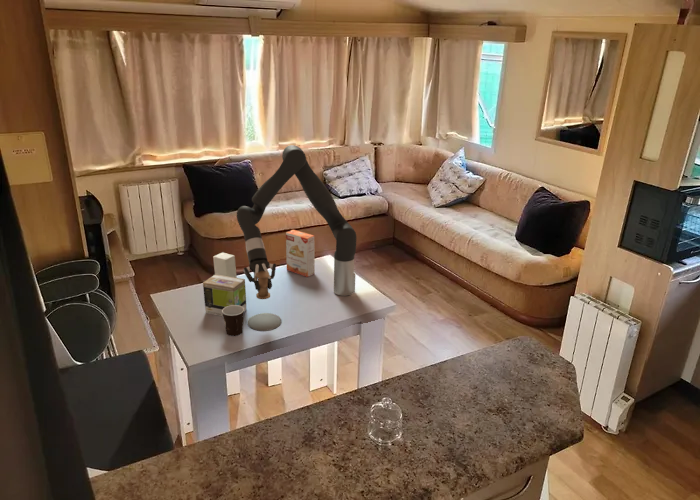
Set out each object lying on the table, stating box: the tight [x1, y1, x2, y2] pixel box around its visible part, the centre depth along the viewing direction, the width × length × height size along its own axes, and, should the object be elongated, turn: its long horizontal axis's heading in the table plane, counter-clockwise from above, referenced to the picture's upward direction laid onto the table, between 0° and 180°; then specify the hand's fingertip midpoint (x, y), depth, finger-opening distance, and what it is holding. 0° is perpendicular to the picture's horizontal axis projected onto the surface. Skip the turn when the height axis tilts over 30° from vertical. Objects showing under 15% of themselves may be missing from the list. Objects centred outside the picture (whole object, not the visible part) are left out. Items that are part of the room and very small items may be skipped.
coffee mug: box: [222, 305, 245, 337], centre depth 215 cm, size 12×9×10 cm
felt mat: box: [247, 312, 282, 332], centre depth 226 cm, size 14×14×1 cm
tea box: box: [202, 273, 247, 317], centre depth 231 cm, size 15×10×15 cm
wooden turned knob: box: [256, 271, 271, 300], centre depth 220 cm, size 6×6×10 cm
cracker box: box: [285, 229, 316, 278], centre depth 270 cm, size 14×6×21 cm, turn 55°
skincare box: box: [212, 251, 238, 278], centre depth 254 cm, size 8×7×16 cm
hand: (264, 289), depth 218 cm, fingers closed on wooden turned knob, 4 cm apart
